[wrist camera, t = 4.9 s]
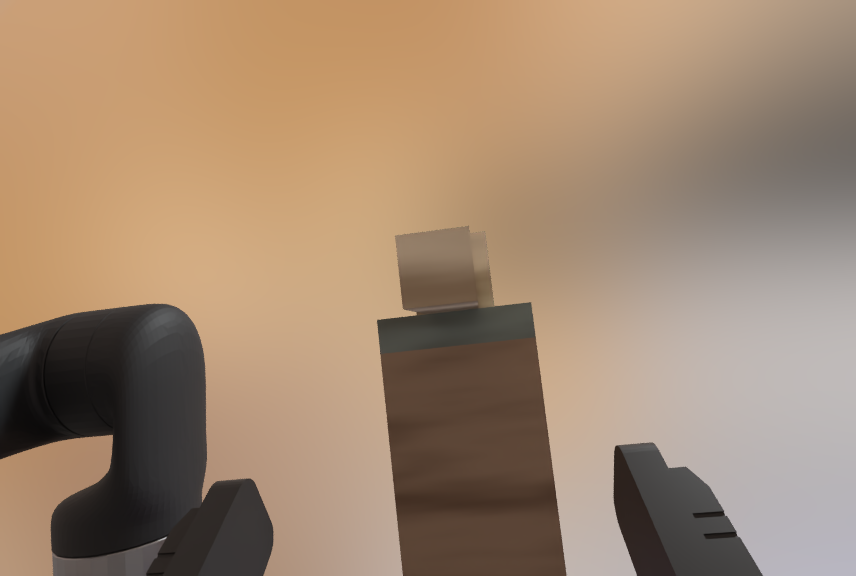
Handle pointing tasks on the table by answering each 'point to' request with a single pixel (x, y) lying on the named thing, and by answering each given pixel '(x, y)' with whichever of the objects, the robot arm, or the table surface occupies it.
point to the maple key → (444, 271)
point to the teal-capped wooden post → (470, 444)
